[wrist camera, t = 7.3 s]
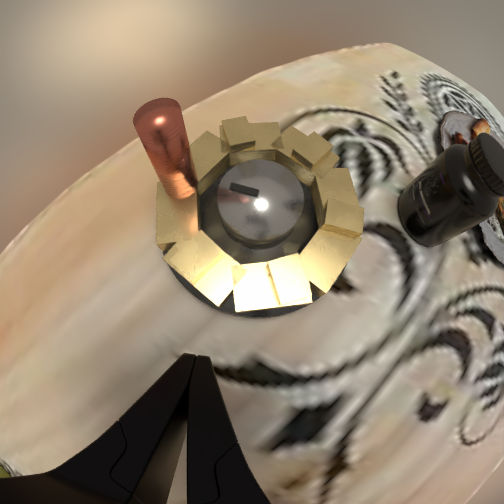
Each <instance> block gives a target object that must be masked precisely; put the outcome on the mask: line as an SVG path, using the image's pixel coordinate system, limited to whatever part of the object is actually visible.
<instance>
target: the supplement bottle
mask: <svg viewBox="0 0 504 504" xmlns="http://www.w3.org/2000/svg"><path fill="white" fill-rule="evenodd" d="M503 196H504V148H503V147H502V146H501V145H500V143H499V142H498V141H497V140H496V139H495V138H493V137H492V136H491V135H490V134H487V133H486V132H485V133H484V132H482V133H480V134H479V135H478V136H477V137H476V138H474V139H473V140H471V141H470V142H469V143H468V144H467V146H466V145H462V144H454V145H451V146H449V147H448V148H446V149H445V150H444V151H443V152H442V153H441V154H440V155H439V156H438V157H437V158H436V159H435V160H434V161H433V162H432V163H431V164H430V165H429V166H428V167H427V168H426V169H425V170H424V171H423V172H422V173H421V174H419V175H418V176H417V177H416V178H415V179H414V180H413V181H412V182H411V183H410V184H409V185H408V186H407V187H406V188H405V189H404V190H403V192H402V194H401V196H400V199H399V213H400V217H401V220H402V223H403V225H404V227H405V229H406V230H407V232H408V233H409V234H410V235H411V236H412V237H413V238H414V239H415V240H416V241H417V242H419V243H421V244H423V245H426V246H436V245H439V244H441V243H443V242H446V241H448V240H450V239H452V238H454V237H455V236H457V235H459V234H461V233H463V232H465V231H467V230H469V229H471V228H473V227H475V226H476V225H478V224H480V223H482V222H484V221H486V220H487V219H489V218H490V217H492V216H493V214H494V213H495V211H496V209H497V206H498V202H499V198H501V197H503Z"/></svg>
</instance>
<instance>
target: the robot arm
mask: <svg viewBox="0 0 504 504" xmlns="http://www.w3.org/2000/svg"><path fill="white" fill-rule="evenodd" d="M186 431H187V504H271V503H270V501H269V500H268V498H267V497H266V495H265V494H264V492H263V491H262V489H261V488H260V486H259V484H258V483H257V481H256V479H255V478H254V476H253V474H252V472H251V470H250V468H249V466H248V464H247V462H246V460H245V457H244V455H243V453H242V450H241V448H240V445H239V443H238V440H237V437H236V435H235V432H234V429H233V426H232V423H231V421H230V418H229V415H228V412H227V409H226V406H225V403H224V400H223V397H222V394H221V391H220V388H219V385H218V382H217V379H216V375H215V372H214V369H213V366H212V362H211V359H210V357H208V356H201V355H198V356H196V355H194V354H188V353H184V354H182V355H181V356H180V357H179V358H178V359H177V360H176V362H175V363H174V364H173V365H172V366H171V367H170V368H169V369H168V370H167V371H166V372H165V373H164V374H163V375H162V376H161V377H160V378H159V379H158V380H157V381H156V382H155V383H154V384H153V385H152V386H151V387H150V388H149V389H148V390H147V391H146V392H145V393H144V394H143V395H142V396H141V397H140V398H139V399H138V400H137V401H136V402H135V403H134V404H133V405H132V406H131V407H130V408H129V409H128V410H127V411H126V412H125V413H124V414H123V415H122V416H121V417H120V418H119V420H117V421H116V422H115V423H114V424H113V425H112V426H111V427H110V428H109V429H108V430H107V431H106V432H105V433H103V434H102V435H101V436H100V437H99V438H98V439H96V440H95V441H94V442H93V443H91V444H90V445H89V446H87V447H86V448H85V449H83V450H82V451H80V452H79V453H78V454H76V455H75V456H73V457H72V458H70V459H69V460H68V461H66V462H65V463H63V464H62V465H60V466H59V467H57V468H55V469H53V470H51V471H48V472H45V473H41V474H34V475H26V476H17V477H4V478H0V504H166V503H167V499H168V495H169V492H170V488H171V484H172V481H173V477H174V473H175V470H176V466H177V463H178V459H179V456H180V452H181V448H182V445H183V441H184V438H185V434H186Z"/></svg>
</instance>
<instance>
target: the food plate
mask: <svg viewBox="0 0 504 504" xmlns="http://www.w3.org/2000/svg"><path fill="white" fill-rule="evenodd" d="M482 132H484V133H485V132H486V133H487V134H490V135H491V136H492V137H493V138H495V139H496V140H497V141H498V142H499V143H500V145H501V146H502V147H503V148H504V143H503V141H502V140H501V139H500V138H499V137H498V136H497V135H496V134H495V133H494V132H493V131H492V130H490V128H489V125H488V122H487V121H486V120H485V119H484V118H481V119H476V118H474V117H472V116H471V115H470V114H466V113H463V112H458V111H449V112H446V113H445V115H444V116H443V120H442V122H441V124H440V125H439V135H440V136H441V137H442V138H441V141H440V145H442V146H443V148H444V150H445V149H446V148H448V147H449V146H451V145H454V144H462V145H466V146H467V144H468V143H469V142H470V141H471V140H473V139H474V138H476V137H477V136H478V135H479V134H480V133H482ZM440 136H439V137H440ZM439 137H438V138H439ZM493 218H495V219H496V220H497V219H498V221H499V223H500V226H501V228H502V231H503V234H504V196H503V197H501V198H499V202H498V206H497V209H496V211H495V213H494V214H493ZM489 220H490V224H491V220H492V221H493V219H492V217H490V218H489ZM486 221H487V220H486ZM495 222H496V221H495ZM492 223H493V222H492ZM493 224H494V223H493ZM497 224H498V222H497ZM479 225H480V227H482V229H481V230H482V232H483V233H484V234H483V236H484V235H485V236H484V242H485V243H486V245H487V246H488V247H489V249H490V250H491V251H492V252H493V254H494V255H495V256H496V258H497V259H498V260H499V261H500V262H502V263H503V264H504V240H501V239H499V237H498V236H497V235H498V234H497V232H496V235H495V234H494V231H493V229H492V228H491V226H490V225H489V224H488V223H487V222H485V221H484V222H482V223H480V224H479ZM495 225H496V223H495ZM493 227H494V226H493ZM497 231H498V230H497ZM485 237H486V238H485ZM500 238H501V236H500Z"/></svg>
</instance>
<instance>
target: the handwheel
mask: <svg viewBox="0 0 504 504" xmlns="http://www.w3.org/2000/svg"><path fill="white" fill-rule="evenodd" d="M133 124H134V126H135V128H136V131H137V133H138V135H139V137H140V139H141V142H142V144H143V146H144V148H145V150H146V152H147V154H148V157H149V159H150V161H151V163H152V165H153V167H154V169H155V171H156V173H157V175H158V177H159V179H160V181H161V182H158V184H157V211H156V244H157V245H158V247H159V248H160V249H161V250H162V251H163V252H168V253H167V254H166V255H165V256H164V257H163V259H164V260H165V261H166V262H167V263H168V264H169V265H170V266H171V267H172V268H173V269H174V270H176V271H177V272H178V273H179V274H180V275H181V276H182V277H184V278H185V279H186V280H187V281H188V282H189V283H191V284H192V285H193V286H194V287H195V288H196V289H198V290H199V291H200V292H201V293H202V294H203V295H205V296H206V297H207V298H208V299H209V300H211V301H212V302H213V303H214V304H215V305H217V306H218V307H219V308H220V309H221V308H222V307H223V305H224V304H225V303H226V302H227V300H228V299H229V298H230V297H231V296H232V294H233V293H234V300H235V310H236V313H246V312H255V311H263V310H272V309H280V308H288V307H295V306H302V305H307V304H309V303H312V297H311V295H312V293H314V294H315V295H316V296H317V297H320V296H322V295H324V294H326V293H327V292H328V290H329V289H330V288H331V286H332V285H333V283H334V282H335V280H336V279H337V277H338V276H339V274H340V273H341V271H342V270H343V268H344V267H345V265H346V264H347V262H348V261H349V259H350V257H351V256H352V254H353V253H354V251H355V250H356V248H357V246H358V245H359V243H360V242H361V240H362V238H361V237H360V235H361V234H362V231H363V225H364V222H363V219H364V208H362V207H359V203H358V200H357V196H356V193H355V189H354V186H353V182H352V179H351V176H350V173H349V170H348V168H334V167H335V166H336V164H337V162H338V160H339V158H340V157H338V156H337V155H336V154H334V153H333V152H331V150H332V148H333V145H332V144H330V143H329V142H328V141H326V140H325V139H324V138H322V137H321V136H320V135H318V134H317V133H316V132H313V133H311V134H310V135H309V136H307V135H305V134H304V133H302V132H300V131H299V130H297V129H295V128H294V127H292V126H290V127H289V128H288V129H287V130H286V131H285V132H284V133H282V134H281V133H280V129H279V125H278V122H271V123H248V120H247V118H246V116H243V117H238V118H233V119H228V120H223V121H222V125H221V126H220V138H218V137H217V136H215V135H213V134H212V133H210V132H208V131H206V132H205V133H204V134H202V135H201V136H200V137H199V138H198V139H197V140H195V141H194V142H193V143H192V144H191V145H189V141H188V137H187V133H186V129H185V125H184V121H183V116H182V112H181V108H180V105H179V103H178V102H177V101H175V100H173V99H170V98H159V99H155V100H152V101H149V102H147V103H146V104H144V105H143V106H141V107H140V108H139V109H138V111H137V112H136V113H135V115H134V118H133ZM250 160H269V161H273V162H276V163H278V164H281V165H282V166H284V167H286V168H287V169H289V170H290V171H291V172H292V173H293V174H294V175H295V176H296V177H297V179H298V180H299V181H301V182H302V183H304V184H305V185H307V186H308V187H309V188H310V192H311V196H312V200H313V205H314V210H315V214H316V219H317V224H318V229H319V230H318V231H317V232H316V234H315V235H314V236H313V238H312V239H311V240H310V242H309V243H308V244H307V246H306V247H305V248H304V250H303V251H302V252H301V254H300V255H298V253H296V254H292V255H289V256H285V257H282V258H278V259H275V260H271V261H268V262H262V263H252V264H243V265H240V264H239V263H238V262H236V261H235V260H234V259H233V258H231V257H230V256H229V255H228V254H226V253H225V252H224V251H223V250H222V249H221V248H220V247H219V246H218V245H217V244H215V243H214V242H213V241H212V240H211V239H210V238H209V237H208V236H207V235H206V234H205V233H204V232H203V231H202V230H201V213H200V196H201V195H202V193H203V192H204V191H205V190H206V189H207V188H208V187H209V186H210V185H211V184H212V183H213V182H214V181H215V180H216V179H217V178H218V177H219V176H220V175H221V174H222V173H223V172H224V171H225V170H226V169H227V168H229V167H230V166H236V165H238V164H240V163H242V162H246V161H250ZM311 292H312V293H311Z"/></svg>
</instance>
